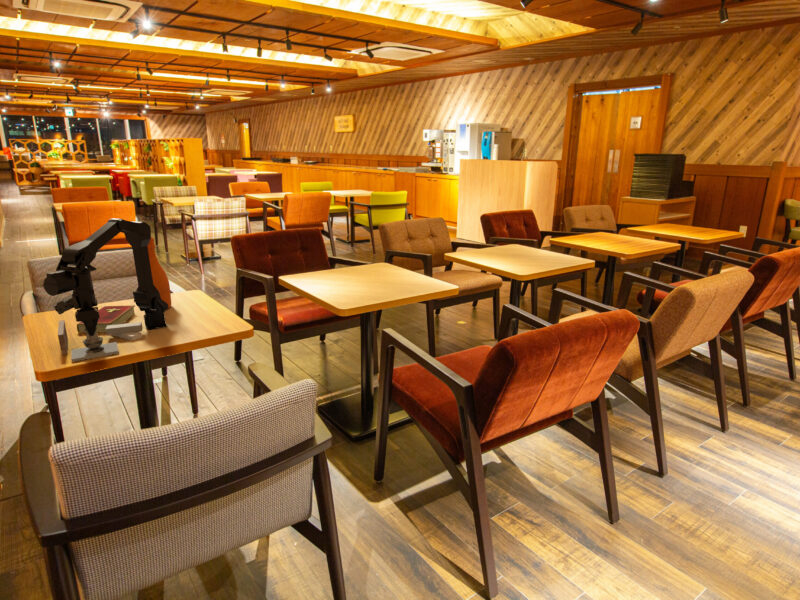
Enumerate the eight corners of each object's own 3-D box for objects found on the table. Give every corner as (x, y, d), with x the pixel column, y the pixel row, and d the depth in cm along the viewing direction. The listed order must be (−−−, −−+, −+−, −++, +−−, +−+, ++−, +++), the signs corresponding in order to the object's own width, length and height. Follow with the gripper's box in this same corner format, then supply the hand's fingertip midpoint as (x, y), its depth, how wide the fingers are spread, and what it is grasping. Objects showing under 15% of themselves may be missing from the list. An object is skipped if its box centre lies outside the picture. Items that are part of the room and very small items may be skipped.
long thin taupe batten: (68, 338, 175) (64, 320, 173) (67, 354, 162) (63, 334, 160) (62, 339, 174) (58, 320, 172) (62, 355, 161) (57, 335, 159)
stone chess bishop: (95, 354, 159) (88, 319, 156) (80, 352, 161) (72, 318, 157) (109, 347, 165) (102, 313, 161) (94, 345, 166) (87, 312, 162)
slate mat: (116, 344, 170) (116, 341, 170) (118, 353, 163) (118, 350, 162) (72, 352, 163) (71, 349, 163) (71, 362, 156) (71, 359, 156)
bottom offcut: (121, 333, 182) (120, 326, 181) (142, 339, 177) (141, 332, 176) (111, 336, 179) (110, 330, 178) (132, 342, 173) (131, 336, 173)
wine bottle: (151, 304, 212) (141, 235, 203) (175, 304, 213) (166, 235, 204) (142, 312, 203) (131, 239, 194) (167, 311, 204) (157, 239, 195)
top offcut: (108, 332, 176) (107, 325, 176) (142, 328, 180) (141, 321, 180) (106, 335, 173) (105, 328, 173) (141, 331, 177) (140, 325, 177)
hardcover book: (77, 333, 180) (75, 323, 179) (105, 315, 200) (103, 305, 199) (112, 333, 182) (110, 322, 180) (136, 314, 202) (134, 304, 200)
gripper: (52, 283, 160) (62, 329, 164) (50, 298, 145) (61, 347, 149) (93, 279, 165) (101, 323, 170) (95, 292, 150) (104, 340, 155)
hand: (91, 333), depth 161 cm, fingers open, 5 cm apart
